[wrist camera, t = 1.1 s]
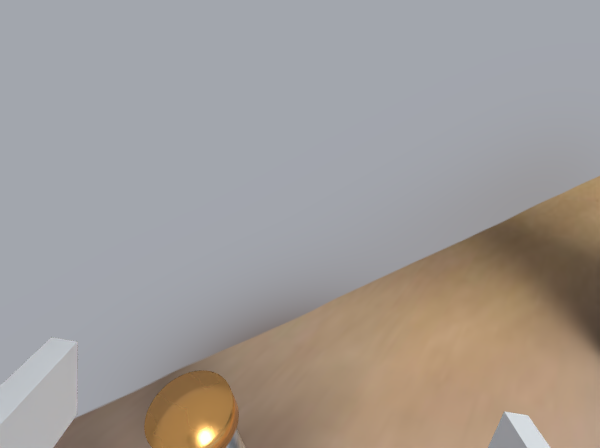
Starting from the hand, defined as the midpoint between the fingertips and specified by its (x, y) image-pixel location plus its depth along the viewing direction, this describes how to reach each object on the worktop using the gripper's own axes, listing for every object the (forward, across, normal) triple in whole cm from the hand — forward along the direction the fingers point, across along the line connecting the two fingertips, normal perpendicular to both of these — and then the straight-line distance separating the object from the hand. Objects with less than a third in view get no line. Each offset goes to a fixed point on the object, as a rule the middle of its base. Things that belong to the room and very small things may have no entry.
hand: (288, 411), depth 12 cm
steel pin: (+11, 0, -20) cm, 22 cm away
